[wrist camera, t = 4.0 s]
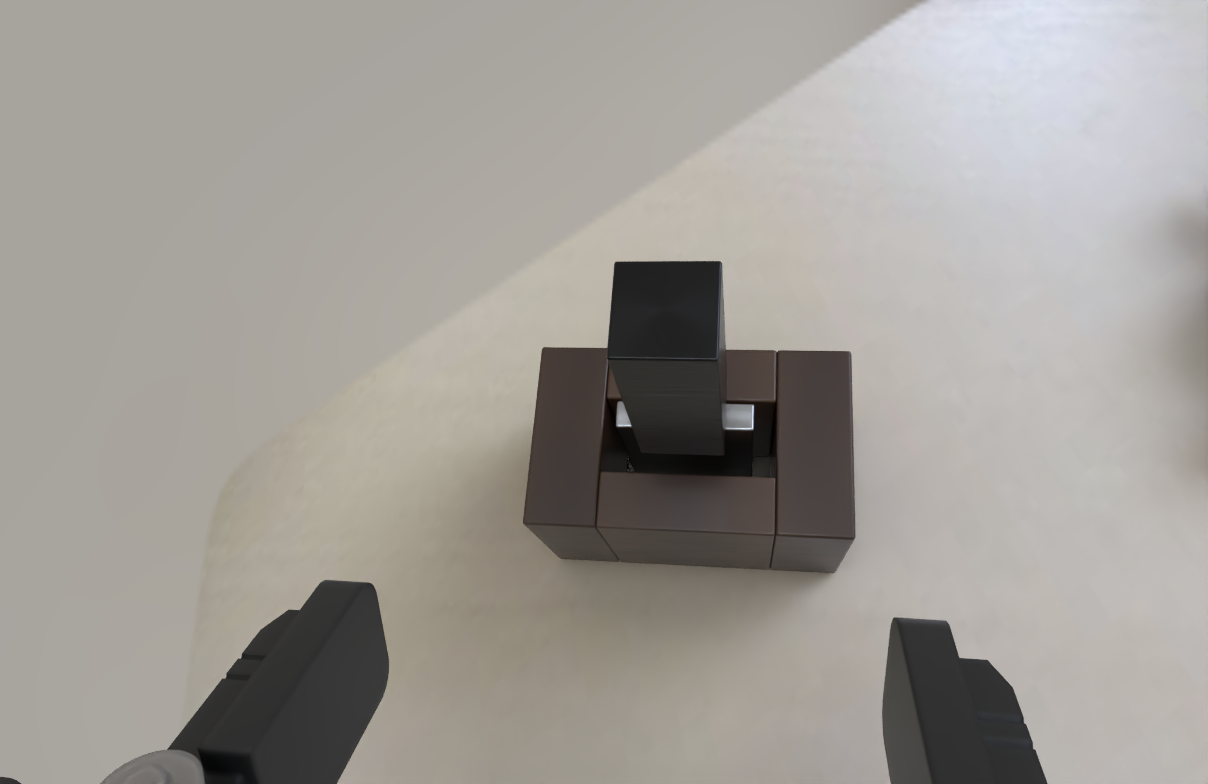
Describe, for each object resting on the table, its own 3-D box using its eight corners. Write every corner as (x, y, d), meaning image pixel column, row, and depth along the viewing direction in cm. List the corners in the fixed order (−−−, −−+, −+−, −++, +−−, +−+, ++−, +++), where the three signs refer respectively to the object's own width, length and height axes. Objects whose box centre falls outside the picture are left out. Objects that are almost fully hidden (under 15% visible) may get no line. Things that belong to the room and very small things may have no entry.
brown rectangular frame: (559, 559, 33) (522, 524, 27) (573, 407, 35) (541, 346, 29) (835, 573, 31) (855, 539, 26) (833, 413, 33) (851, 350, 28)
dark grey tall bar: (642, 514, 33) (569, 358, 19) (645, 453, 34) (579, 261, 20) (750, 519, 32) (757, 361, 18) (751, 456, 33) (758, 260, 19)
